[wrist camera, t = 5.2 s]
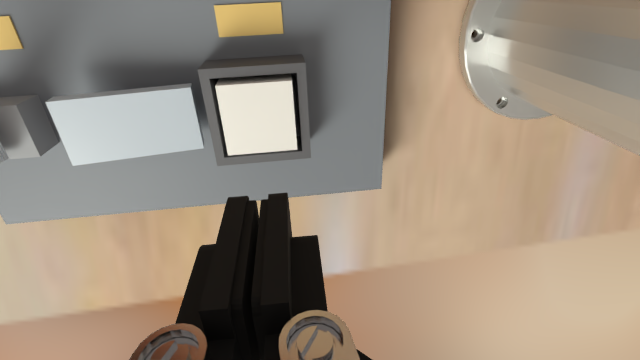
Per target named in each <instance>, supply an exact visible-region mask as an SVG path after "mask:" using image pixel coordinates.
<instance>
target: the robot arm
mask: <svg viewBox="0 0 640 360" xmlns="http://www.w3.org/2000/svg"><path fill="white" fill-rule="evenodd" d="M473 31H474V35H473V36H472V37H471V35H472V32H473ZM459 60H460V65H461V71H462V74H463V77H464V79H465V82H466V84H467V87H468V88H469V90H470V91H471V92H472V94H473V95H474V97H475V98H476V99H477V100H478V101H480V102H481V103H482V104H483V105H484V106H485V107H487V108H489V109H490V110H492V111H494V112H495V113H497V114H500V115H503V116H506V117H508V118H513V119H521V120H529V119H540V118H544V117H547V116H551V115H555V116H557V117H559V118H561V119H563V120H565V121H567V122H569V123H571V124H573V125H576V126H578V127H580V128H582V129H584V130H586V131H588V132H590V133H592V134H595V135H597V136H599V137H601V138H603V139H605V140H607V141H609V142H611V143H613V144H616V145H618V146H620V147H622V148H624V149H626V150H628V151H630V152H632V153H635V154H637V155H639V156H640V0H469V3H468V6H467V9H466V12H465V15H464V17H463V21H462V26H461V32H460V37H459ZM129 360H372V359H370V358H369V357H367V356H366V355H365V354H363V353H362V352H360V351H359V350H357V349H356V347H355V344H354V342H353V339H352V336H351V333H350V331H349V329H348V327H347V326H346V324H345V322H344V321H342V320H341V319H340V318H339V317H338V316H337V315H334V314H332V313H330V312H328V311H327V304H326V296H325V289H324V281H323V273H322V266H321V258H320V251H319V243H318V236H317V235H314V236H302V237H292V231H291V221H290V211H289V201H288V193H275V194H268V199H262V200H261V207H260V216H259V215H258V208H257V202H256V200H249V197H248V196H237V197H228V199H227V202H226V206H225V210H224V214H223V218H222V222H221V226H220V229H219V233H218V237H217V241H216V244H211V245H202V246H201V247H200V248H199V251H198V254H197V257H196V260H195V263H194V266H193V270H192V273H191V276H190V279H189V282H188V285H187V289H186V292H185V295H184V298H183V301H182V305H181V308H180V311H179V314H178V317H177V320H176V323H175V324H172V325H169V326H166V327H163V328H161V329H159V330H157V331H155V332H154V333H152V334H150V335H149V336H148V337H147V338H146V339H145V340H143V341H142V342H141V343H140V344H139V346H138V347H137V349H136V350H135V351H134V353H133V354H132V356H131V358H130V359H129Z"/></svg>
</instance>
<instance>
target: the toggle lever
mask: <svg viewBox="0 0 640 360" xmlns="http://www.w3.org/2000/svg"><path fill="white" fill-rule="evenodd" d="M7 159H9V157H8V155H7V153H6V151H5V149H4V147H3V145H2V143H1V142H0V163H1V162H3V161H5V160H7Z"/></svg>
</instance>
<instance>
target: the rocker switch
mask: <svg viewBox="0 0 640 360" xmlns="http://www.w3.org/2000/svg"><path fill="white" fill-rule="evenodd" d="M45 103H46V105H47V107H48V110H49V112H50V114H51V117H52V119H53V121H54V124H55V126H56V128H57V131H58V133H59V135H60V138H61V140H62V142H63V145H64V147H65V149H66V152H67V154H68V156H69V159H70V161H71V163H72V166H77V165H84V164H91V163H99V162H106V161H114V160H121V159H128V158H136V157H143V156H151V155H158V154H165V153H173V152H180V151H188V150H195V149H203V148H204V138H203V133H202V129H201V124H200V120H199V115H198V110H197V106H196V101H195V97H194V92H193V87H192V83H187V84H177V85H167V86H157V87H147V88H136V89H126V90H116V91H106V92H96V93H86V94H76V95H66V96H56V97H52V98H50V99H49V100H48V101H46V102H45Z"/></svg>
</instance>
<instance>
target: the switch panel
mask: <svg viewBox="0 0 640 360" xmlns="http://www.w3.org/2000/svg"><path fill="white" fill-rule="evenodd" d="M390 10H391V0H0V142H1V143H2V145H3V147H4V149H5V151H6V153H7V155H8V157H9V159H7V160H5V161H3V162H1V163H0V215H1V216H2V218H3V220H4V221H5V223H6V224H14V223H24V222H35V221H46V220H56V219H67V218H77V217H88V216H99V215H109V214H120V213H130V212H141V211H151V210H162V209H173V208H183V207H194V206H204V205H215V204H225V203H226V202H227V199H228V197H237V196H248V197H249V200H256V201H257V200H262V199H268V194H275V193H288V198H289V197H299V196H310V195H321V194H331V193H342V192H352V191H363V190H373V189H381V184H382V165H383V146H384V126H385V107H386V88H387V68H388V49H389V29H390ZM287 73H291V78H292V87H293V100H294V113H295V125H296V138H297V150H288V151H276V152H264V153H252V154H240V155H228V153H227V148H226V142H225V137H224V131H223V126H222V121H221V115H220V110H219V104H218V99H217V94H216V88H215V85H216V83H217V82H218V80H219V78H228V77H243V76H258V75H273V74H287ZM187 83H192V87H193V92H194V97H195V101H196V106H197V110H198V115H199V120H200V124H201V129H202V133H203V138H204V148H203V149H195V150H188V151H180V152H173V153H165V154H158V155H151V156H143V157H136V158H128V159H121V160H114V161H106V162H99V163H91V164H84V165H77V166H72V163H71V161H70V159H69V156H68V154H67V152H66V149H65V147H64V145H63V142H62V140H61V138H60V135H59V133H58V131H57V128H56V126H55V124H54V121H53V119H52V117H51V114H50V112H49V110H48V107H47V105H46V103H45V102H46V101H48V100H49V99H50V98H52V97H56V96H66V95H76V94H86V93H96V92H106V91H116V90H126V89H136V88H147V87H157V86H167V85H177V84H187Z"/></svg>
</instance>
